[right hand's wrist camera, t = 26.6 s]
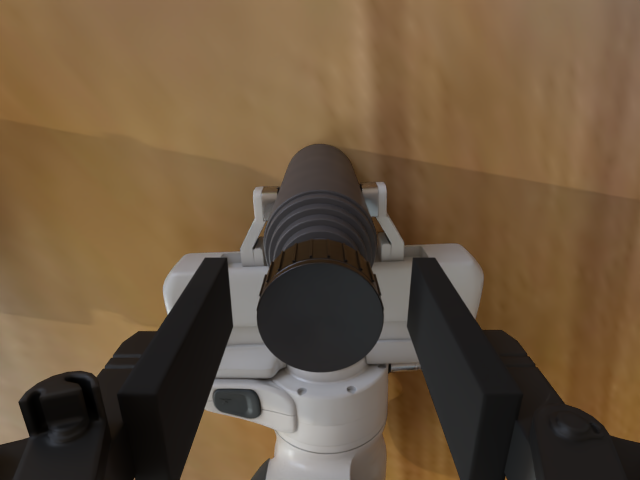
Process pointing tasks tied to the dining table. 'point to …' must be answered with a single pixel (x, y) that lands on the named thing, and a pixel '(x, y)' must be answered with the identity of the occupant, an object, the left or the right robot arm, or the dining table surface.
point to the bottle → (320, 205)
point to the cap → (320, 306)
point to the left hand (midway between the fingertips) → (318, 186)
